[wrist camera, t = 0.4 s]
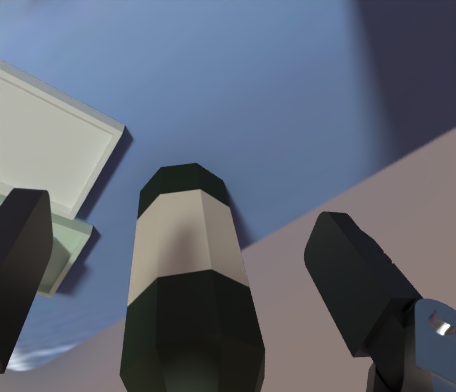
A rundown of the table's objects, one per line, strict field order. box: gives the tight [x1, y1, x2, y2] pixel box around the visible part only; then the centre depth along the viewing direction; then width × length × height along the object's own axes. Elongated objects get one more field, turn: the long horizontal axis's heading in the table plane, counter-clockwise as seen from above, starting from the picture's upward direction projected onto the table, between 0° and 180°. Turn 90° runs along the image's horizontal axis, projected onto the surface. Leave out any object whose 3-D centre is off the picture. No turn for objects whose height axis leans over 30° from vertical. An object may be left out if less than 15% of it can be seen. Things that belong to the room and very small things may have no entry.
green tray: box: [0, 194, 93, 298], centre depth 31 cm, size 10×10×1 cm
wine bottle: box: [120, 163, 265, 392], centre depth 20 cm, size 8×8×30 cm
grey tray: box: [0, 60, 125, 220], centre depth 26 cm, size 10×10×1 cm
